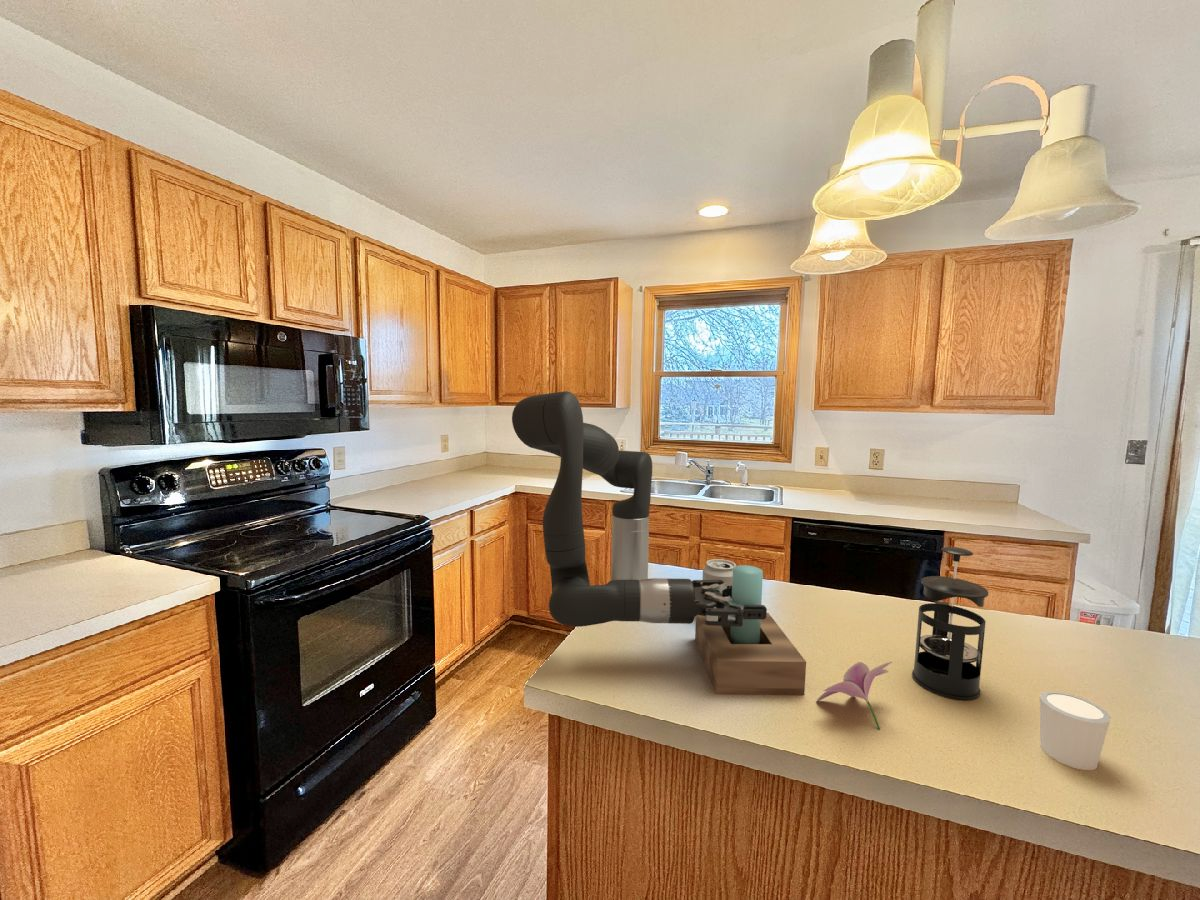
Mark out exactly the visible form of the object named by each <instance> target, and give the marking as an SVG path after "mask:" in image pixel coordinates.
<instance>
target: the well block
mask: <svg viewBox="0 0 1200 900" xmlns="http://www.w3.org/2000/svg"><path fill="white" fill-rule="evenodd" d="M705 619H706V616H702V615H696V616H695V625H694V626H695V628H694V630H695V632H694V633H695V635H694V640H695V642H696V645H697V648H698V650H699V653H700V655H701V657H702V660H703V663H704V665H705V669H706V671H707V673H708V675H709V678H710V681H711V684H712V686H713V689H714V691H715V694H716V695H717V694H718V695H721V694H723V695H801V696H802V695H805V691H806V689H805V688H806V673H807V672H806V671H807V661H806V659H805V658H804V656H803V655H802V654H801V653H800V652H799V651H798V649H797V648H796V647H795V645H794V644H793V643H792V642H791V640H790V638H789V637H788V636H787V635H786V633H785V632H784V631H783V630H782V628H781V627H780V626H779V625H778V623H777V621H775V619H774V618H773V617H772V615H771V614H770V613H769V612H767V614H766V618H765V619H761V625H760V644H731V643H730V630H731V626H711V625H706V624H705ZM728 620H731V619H728Z"/></svg>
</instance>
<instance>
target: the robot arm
mask: <svg viewBox="0 0 1200 900" xmlns="http://www.w3.org/2000/svg"><path fill="white" fill-rule="evenodd" d="M583 416H584V414H583V410H582V405H581V403H580V402H579V399H578V397H577V396H576V395H575V394H574V393H573V392H571V391H567V390H565V391H558V392H550V393H544V394H543V393H542V394H537V395H530V396H528V397H525V398H523V399H521V400H519V401H518V403H516V405H515V406H514V408H513V410H512V414H511V424H512V428H513V430H514V433H515V434H516V436H517V438H518V439H519V440H520V441H521V443H522V444H524V445H525V446H527V447H529V448H530V449H535V450H538V451H542V452H546V453H549V454H552V455H555V456H557V457H559V458H560V464H559V471H558V474H557V478H556V481H555V482H554V484H553V485H554V486H553V488H552V490H551V493H550V495H549V496H548V499H547V502H546V504H545V507H544V511H543V517H542V536H543V543H544V544H543V545H544V551H545V553H544V554H545V558H546V562H547V564H548V565H549V570H550V580H551V594H550V597H549V601H548V610H549V614H550V616H551V618H552V619H553V620H554V621H555V622H557V623H558V624H559V625H560V624H561V625H562V626H566V627H571V628H572V627H573V628H575V627H577V628H579V627H588V626H594V625H602V624H606V623H610V622H641V623H649V624H673V625H674V624H678V625H679V624H681V625H682V624H683V625H685V624H686V625H688V624H692V623H693V622H694V620H695V618H696V615H702V616H706V619H705V624H706V625H711V626H737V627H741V626H743V621H744V619H765V618H766V614H767V613H768V612H767V610H768V609H767V607H766V605H765V604H761V605H740V604H737V603H733V602H732V601H731V599H732V585H730V586H729V584H727V583H724V581H723V580H703V579H693V580H691V579H690V578H665V577H664V578H661V577H660V578H658V577H657V578H656V577H652V578H649V549H650V547H649V541H650V538H649V536H650V509H651V507H650V506H651V495H652V494H651V493H652V482H653V481H652V479H653V460H652V457H651V455H650V454H649V453H648V452H645V451H634V450H620V449H619V444H618V442H617V441H616V439H615V437H613V435H611V434H610V433H608V432H607V431H606V430H604V429H603V428H601V427H599V426H597V425H594V424H591V423H587V422H584V417H583ZM583 470H585V471H587V472H590V473H593V474H595V475H596V476H599V477H601V478H602V479H603V480H605V481H606V482H607V483H608V484H609V485H611V486H612V487H617V488H621V489H633V493H632V496H631V497H629V498H626V499H622V500H618V501H616V502H614V503H613V504H612V511H611V513H612V514H611V524H612V525H611V528H612V529H611V577H610V578H611V580H610V581H608V582H607V583H605V584H595V585H591V582H590V576H589V572H588V571H589V570H588V566H587V562H586V540H585V539H586V538H585V531H584V521H583V509H582V508H583V507H582V505H583V504H582V496H583V495H582V494H583V493H582V490H583V489H582V488H583V473H584V472H583ZM729 596H730V598H731V599H729ZM731 608H734V609H731ZM728 619H732V620H728Z"/></svg>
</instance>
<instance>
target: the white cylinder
mask: <svg viewBox="0 0 1200 900" xmlns="http://www.w3.org/2000/svg"><path fill="white" fill-rule="evenodd" d="M1111 717H1112V716H1111V715H1110V714H1109V713H1108V712H1107V710H1105V709H1104V708H1103V707H1101V706H1100V705H1098V704H1096V703H1094V702H1092V701H1089V700H1087V699H1085V698H1083V697H1079V696H1076V695H1074V694H1070V693H1066V692H1060V691H1049V690H1048V691H1045V692H1041V693H1040V695H1039V735H1040V736H1039V738H1040V739H1039V741H1040V742H1039V743H1040V748H1041V750H1042V751H1043V752H1044V753H1045V754H1046V755H1047V756H1048V757H1050V758H1052V759H1053V760H1055V761H1057V762H1058V763H1060V764H1063V765H1065V766H1067V767H1069V768H1073V769H1078V770H1082V771H1083V770H1084V771H1094V770H1096V769H1097V768H1098V765H1099V761H1100V758H1101V755H1102V750H1103V746H1104V743H1105V739H1106V735H1107V734H1108V733H1107V732H1108V730H1109V726H1110V725H1109V724H1110V721H1111V719H1112V718H1111Z"/></svg>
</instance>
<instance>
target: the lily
mask: <svg viewBox="0 0 1200 900" xmlns="http://www.w3.org/2000/svg"><path fill="white" fill-rule="evenodd" d="M890 664H893V661H890V662H889V661H888V662H886V663H883V664H880V665H878V666H877V667H874V668H873V669H871V670H870V668H869V667H868V665H867V664H865V663H864V662H862V661H861V662H859V661H858V662H856V663H854V664H853V665H851V667H849V668H848V669H847V670H846V671H845V673H844V675H843V679H842V680H843V681H841V682H837V683H836V684H833V685H831V686H829V687H826V688H825V689H824V690H823V693H822V694H821V695H820V696H819V697H818V698H817V699H816V701H815V702H820V701H822V700H823V699H826V698H828V697H830V696H832V695H834V694H837V693H838V694H839V693H840V694H841V693H842V694H845V695H847V696H849V697H851V698H853V697H854V698H859V699H863V700H864V701H866V703H867V706H868V707H869V709H870V713H871V714H872V718H873V720H874V722H875V724H876V727H877V730H881V727H880V725H879V722H878V720H877V717H876V714H875V712H874V710H873V707H872V706H871V703H870V701H869V693H870V689H871V686H872V684H873V681H874V679H875V677H878V676H881V675H884V674H887V673H889V670H888V669H885V668H887V667H888V666H889V665H890Z"/></svg>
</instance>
